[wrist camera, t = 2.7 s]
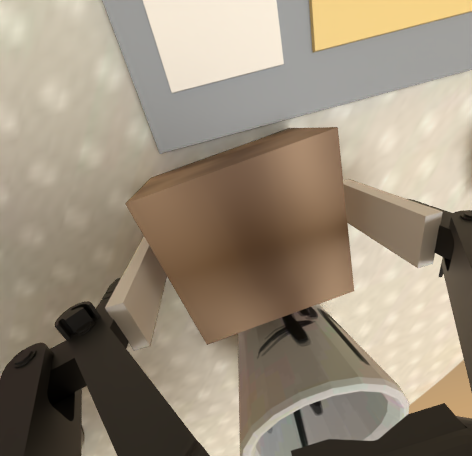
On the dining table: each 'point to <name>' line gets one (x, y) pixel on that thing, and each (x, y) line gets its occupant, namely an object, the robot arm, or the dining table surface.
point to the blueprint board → (278, 57)
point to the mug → (310, 386)
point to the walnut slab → (251, 230)
